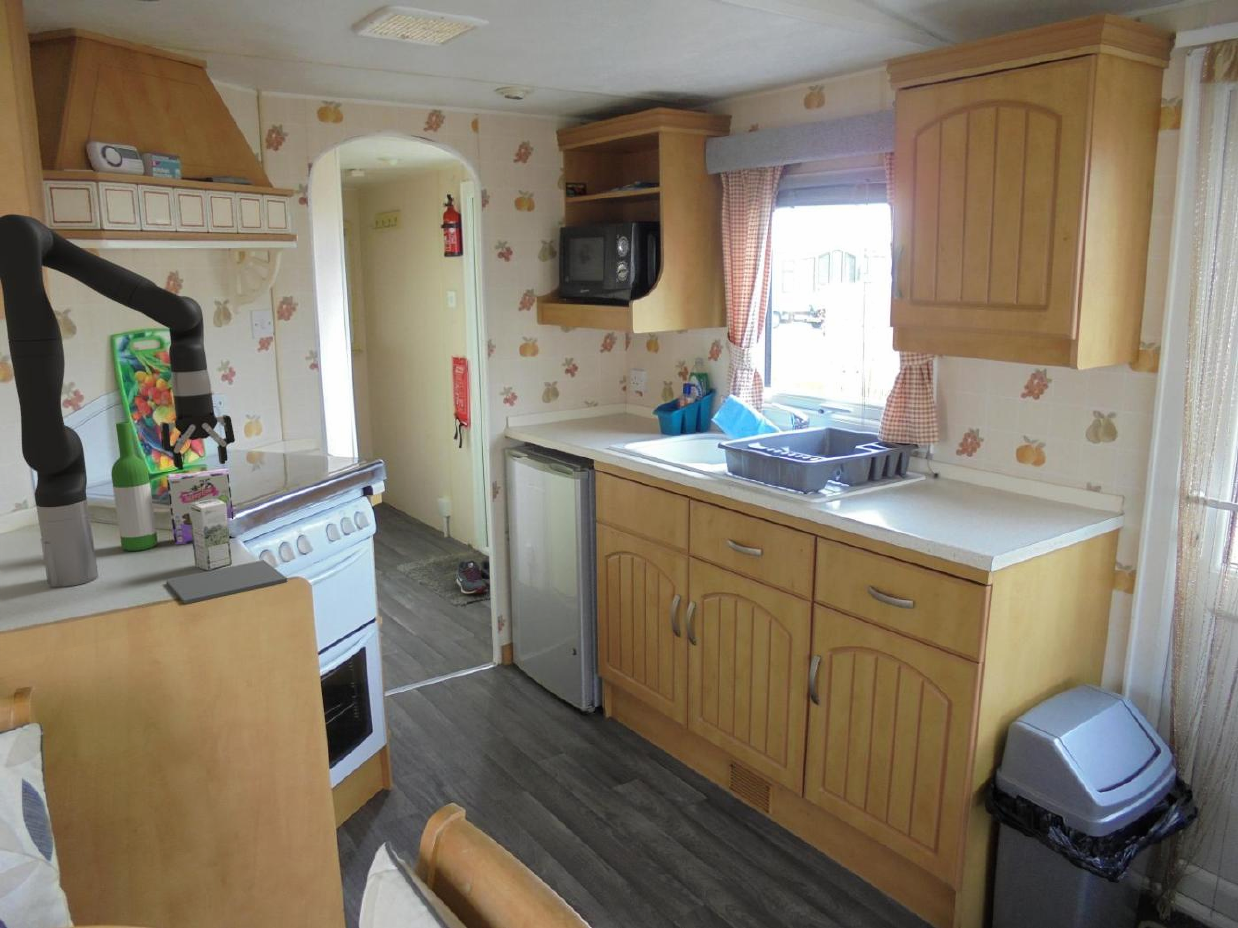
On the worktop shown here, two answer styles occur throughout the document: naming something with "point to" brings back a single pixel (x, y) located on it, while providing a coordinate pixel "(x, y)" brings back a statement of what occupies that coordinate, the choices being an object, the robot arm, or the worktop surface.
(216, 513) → the syrup box
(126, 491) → the wine bottle
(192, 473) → the candy box
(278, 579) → the mat
